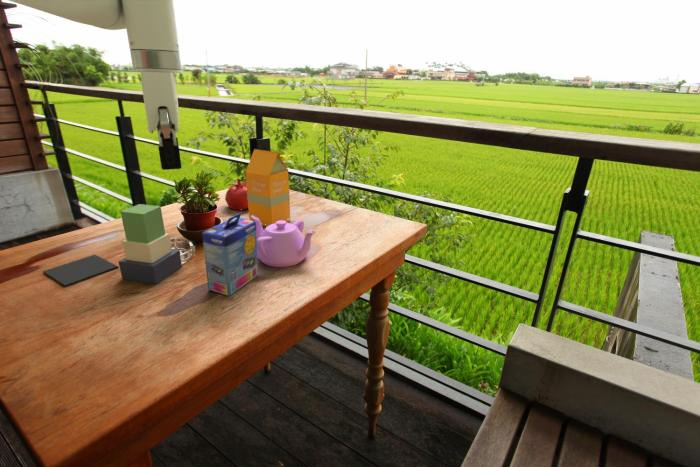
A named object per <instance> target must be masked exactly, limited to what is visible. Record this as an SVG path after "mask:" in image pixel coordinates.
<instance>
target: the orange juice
mask: <svg viewBox="0 0 700 467" xmlns="http://www.w3.org/2000/svg"><path fill="white" fill-rule="evenodd" d="M289 178H290V177H289V169H288V167H287V166H286V164H285V162H284V161H283V159H282V157H281V155H280V153H279V152H278V151H273V150H264V149H257V148H254V149H253V152H252V154H251V157H250V159H249V162H248V164H247V167H246V169H245V181H246V182H245V183H246V185H247V199H248V209H247V210H248V220H253V218H252V217H251V215H254V216H256V217H257V218H258V219H259V220H260V222H261V223H262V224H261V225H262V226H264V227H267V226H269V225H271V224H275V223H276V221H280V220H283V221H285V220H286V223H289V222H290V221H291V203H290V201H291V199H290V198H291V197H290V179H289ZM289 218H290V219H289ZM287 219H289V220H287ZM253 221H254V220H253ZM265 224H266V225H265Z"/></svg>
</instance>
